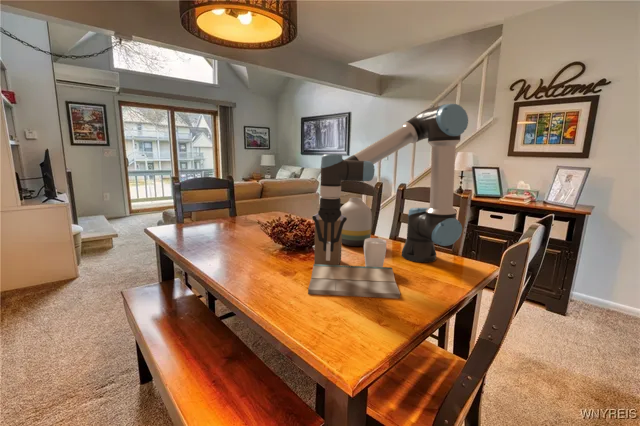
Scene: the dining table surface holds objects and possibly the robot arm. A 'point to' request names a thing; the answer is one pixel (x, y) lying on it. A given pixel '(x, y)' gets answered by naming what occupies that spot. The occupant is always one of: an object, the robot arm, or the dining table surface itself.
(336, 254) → the wooden block
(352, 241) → the vase
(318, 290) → the laid row
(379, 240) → the cup
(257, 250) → the dining table surface
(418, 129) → the robot arm
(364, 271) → the plank
